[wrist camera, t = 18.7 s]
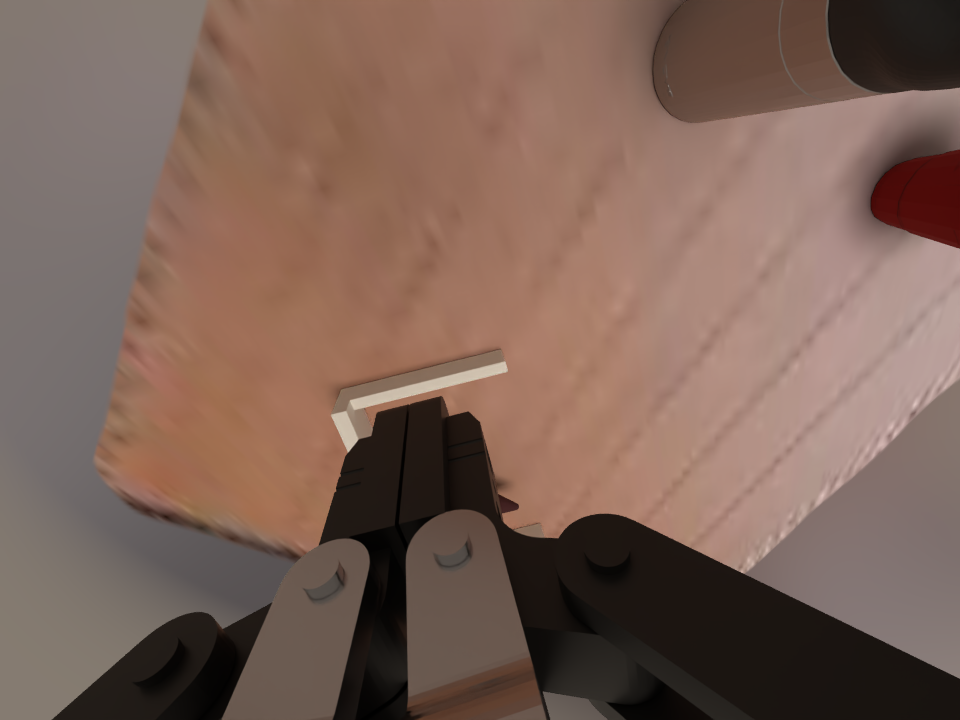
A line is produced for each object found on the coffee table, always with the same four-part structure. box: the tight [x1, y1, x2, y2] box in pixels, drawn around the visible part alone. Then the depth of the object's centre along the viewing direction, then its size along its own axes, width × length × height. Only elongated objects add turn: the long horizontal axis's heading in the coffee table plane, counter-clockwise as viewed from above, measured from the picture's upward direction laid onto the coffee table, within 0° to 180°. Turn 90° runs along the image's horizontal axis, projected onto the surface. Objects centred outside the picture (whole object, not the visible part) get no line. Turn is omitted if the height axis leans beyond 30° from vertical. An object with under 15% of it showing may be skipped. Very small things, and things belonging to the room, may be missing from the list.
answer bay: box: [331, 349, 545, 538], centre depth 48 cm, size 18×27×5 cm, turn 13°
